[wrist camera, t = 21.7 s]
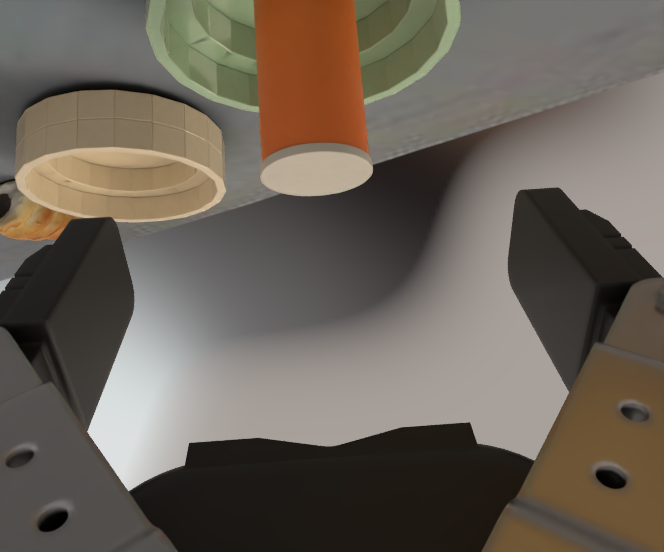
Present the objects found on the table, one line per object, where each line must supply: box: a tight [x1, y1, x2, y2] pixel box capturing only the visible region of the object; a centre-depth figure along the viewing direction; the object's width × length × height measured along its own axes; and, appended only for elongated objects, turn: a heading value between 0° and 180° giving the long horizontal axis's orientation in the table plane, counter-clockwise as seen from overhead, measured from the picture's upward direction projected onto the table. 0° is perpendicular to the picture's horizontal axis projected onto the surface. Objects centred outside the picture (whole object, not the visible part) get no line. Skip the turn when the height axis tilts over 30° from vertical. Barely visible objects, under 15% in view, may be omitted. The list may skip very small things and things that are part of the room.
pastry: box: [0, 180, 83, 241], centre depth 52 cm, size 9×7×4 cm
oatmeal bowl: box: [15, 90, 226, 222], centre depth 42 cm, size 13×13×4 cm
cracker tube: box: [253, 0, 373, 196], centre depth 26 cm, size 5×5×10 cm
